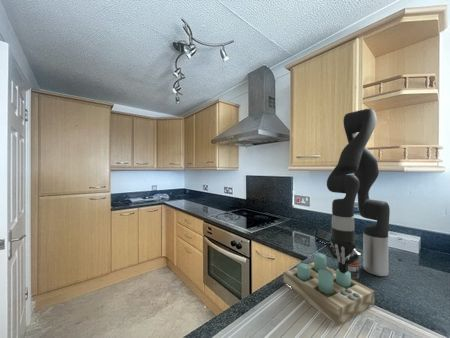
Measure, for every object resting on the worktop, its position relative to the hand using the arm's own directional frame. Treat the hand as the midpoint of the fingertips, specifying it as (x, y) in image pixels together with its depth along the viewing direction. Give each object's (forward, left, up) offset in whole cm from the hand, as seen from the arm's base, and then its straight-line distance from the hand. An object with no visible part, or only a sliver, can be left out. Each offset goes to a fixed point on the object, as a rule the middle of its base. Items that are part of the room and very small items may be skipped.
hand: (343, 272), depth 73 cm
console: (+5, -4, -9) cm, 11 cm away
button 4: (0, 0, -6) cm, 6 cm away
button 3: (+10, 0, -4) cm, 11 cm away
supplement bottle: (-13, -5, -9) cm, 17 cm away
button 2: (0, -10, -4) cm, 11 cm away
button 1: (+10, -10, -6) cm, 15 cm away
